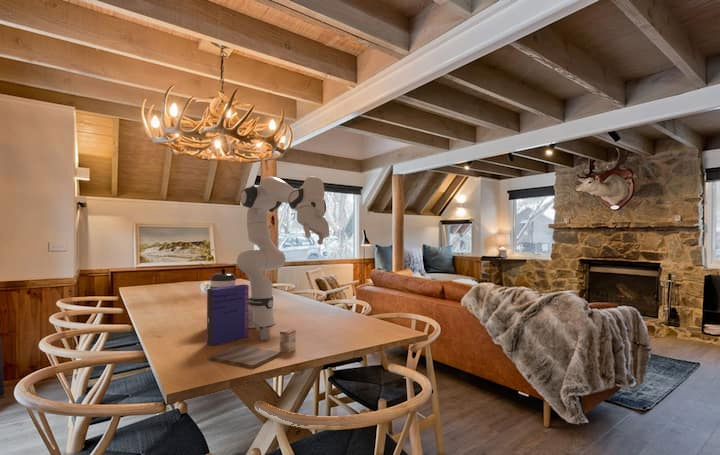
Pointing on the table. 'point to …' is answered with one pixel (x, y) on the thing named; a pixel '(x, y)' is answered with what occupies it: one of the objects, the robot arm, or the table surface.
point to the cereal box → (227, 314)
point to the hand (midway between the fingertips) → (314, 240)
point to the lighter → (263, 332)
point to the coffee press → (222, 279)
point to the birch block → (287, 340)
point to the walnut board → (244, 356)
